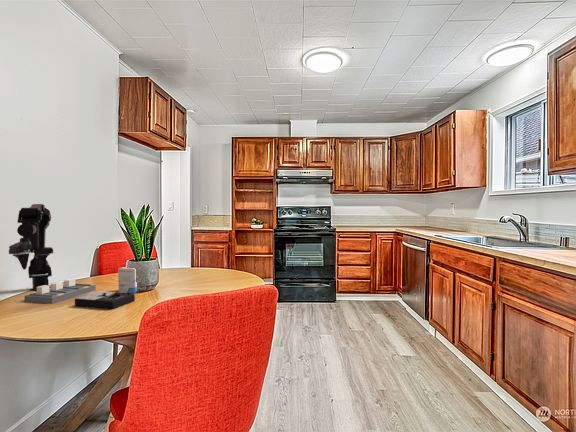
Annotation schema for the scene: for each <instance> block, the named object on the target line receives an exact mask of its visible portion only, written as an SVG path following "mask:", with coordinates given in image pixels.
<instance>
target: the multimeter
mask: <svg viewBox="0 0 576 432" xmlns="http://www.w3.org/2000/svg"><path fill="white" fill-rule="evenodd" d="M135 297H136V296H135V293H119V292H115V291H113V292H111V291H95V292H93V293H88V294H86V295H85V294H84V295H83V296H82V295H81V296H80V297H76V298H75V299H74V307H77V308H87V307H88V308H90V309H100V310H101V309H102V310H116V309H118V308H122V307H123V306H126V305H128V304H131V303H133V302H135V300H136V298H135Z"/></svg>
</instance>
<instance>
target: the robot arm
mask: <svg viewBox="0 0 576 432" xmlns="http://www.w3.org/2000/svg"><path fill="white" fill-rule="evenodd" d="M50 222H52V214H51V211H50V210H49V209H48V208H47V207H46V206H45V204H42V203H33V204H31V206H30V207H21V208H20V210H18V216H17V224H20V225H18V227H17V229H16V231H17V234H18V235H19V236H20V238H19V241H18V242H16V243H13V244H11V245H9V246H8V248H9V249H8V254H9V255H12V256H13V257H15V258H17V260H18V261H19V264H20V266H21V268H22V270H23V271H24V270H26V269H27V267H28V269H27V270H28V272H27V273H28V279H32V288H29V291H37V287H39V286H43V285H49V277H53V275H52V274H53V273H52V267H51V266H50V265H51V264H49V261H48V259H47V258H48V256H50V254H54V248H53V247H52V246H50V247H48V246H46V230H47V229H48V227H49V226H50ZM30 253H31V254H32V253H33V258H32V259H31V260H30V261H29V257H30ZM28 262H29V266H28ZM49 289H51V286H50V285H49Z"/></svg>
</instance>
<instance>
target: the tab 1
mask: <svg viewBox="0 0 576 432" xmlns="http://www.w3.org/2000/svg"><path fill="white" fill-rule="evenodd" d="M49 287H50V285H43V286H39V287H37V290H36V293H37V294H44V293H48V292H50V290H49V289H50V288H49Z"/></svg>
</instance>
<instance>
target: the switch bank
mask: <svg viewBox="0 0 576 432" xmlns="http://www.w3.org/2000/svg"><path fill="white" fill-rule="evenodd" d="M96 288H97V287H96V285H95V284H91V283H76V282H75V285H74V286H70V287H64V285H63V289H59V290H51V288H49V290H50V292H48V293H44V294H37V292H34V293H29V294H27V295H24V296H23V297H24V303H25V302H26V303H42V304H56V303H58V302H61V301H65V300H69V299H72V298H75V297H78V296H82V295H85V294H89V293H90V292H94V291H95V292H96V290H97V289H96Z"/></svg>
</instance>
